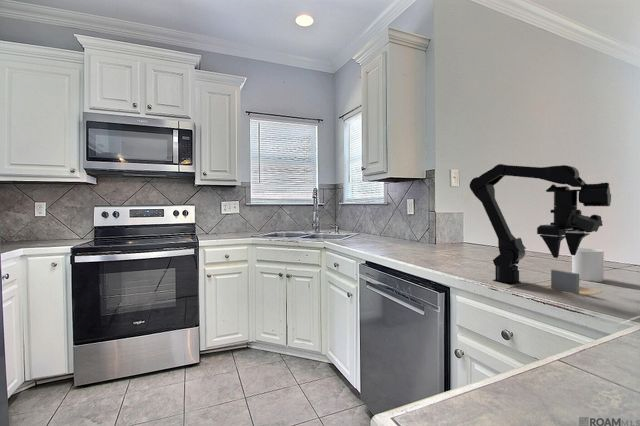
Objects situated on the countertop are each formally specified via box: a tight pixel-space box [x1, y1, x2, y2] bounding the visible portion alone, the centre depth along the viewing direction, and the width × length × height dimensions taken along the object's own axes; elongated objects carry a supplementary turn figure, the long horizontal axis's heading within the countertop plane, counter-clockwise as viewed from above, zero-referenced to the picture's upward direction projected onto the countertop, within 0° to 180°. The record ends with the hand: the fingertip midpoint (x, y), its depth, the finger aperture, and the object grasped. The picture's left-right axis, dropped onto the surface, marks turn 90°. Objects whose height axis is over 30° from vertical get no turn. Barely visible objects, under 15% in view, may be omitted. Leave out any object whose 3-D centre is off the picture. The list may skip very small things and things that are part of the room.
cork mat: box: [541, 284, 604, 298], centre depth 100 cm, size 12×11×1 cm
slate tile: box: [550, 268, 580, 294], centre depth 99 cm, size 7×2×6 cm, turn 25°
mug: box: [571, 247, 605, 283], centre depth 114 cm, size 9×12×11 cm
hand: (564, 256), depth 99 cm, fingers open, 9 cm apart
